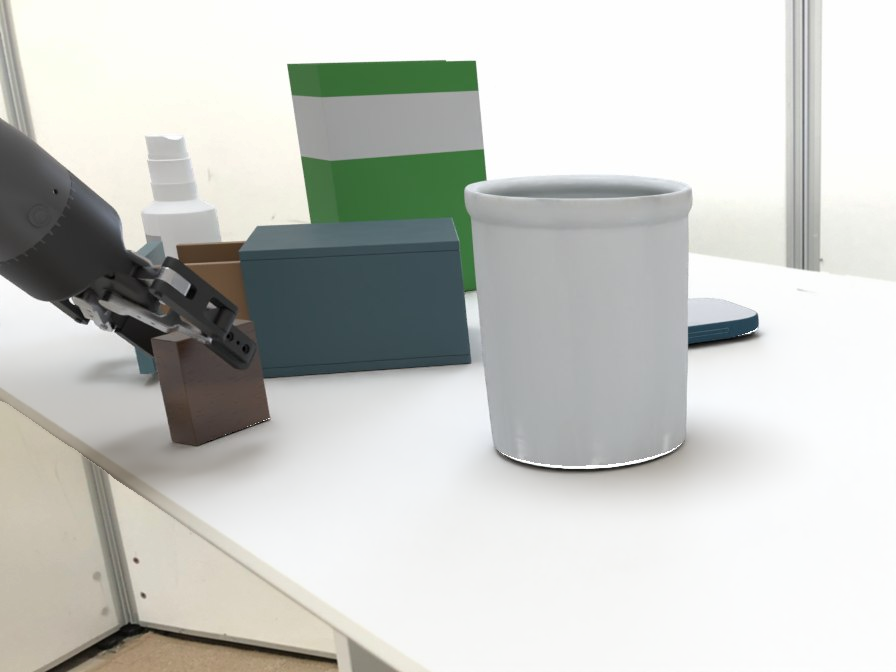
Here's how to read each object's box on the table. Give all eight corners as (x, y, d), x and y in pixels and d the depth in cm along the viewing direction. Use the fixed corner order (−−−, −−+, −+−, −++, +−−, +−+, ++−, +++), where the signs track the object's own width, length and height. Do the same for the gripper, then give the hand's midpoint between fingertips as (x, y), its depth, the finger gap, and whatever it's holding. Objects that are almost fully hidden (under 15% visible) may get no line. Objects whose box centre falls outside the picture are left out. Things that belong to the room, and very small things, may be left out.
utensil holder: (648, 400, 94) (639, 167, 87) (733, 453, 82) (730, 188, 75) (463, 427, 88) (438, 179, 81) (526, 489, 76) (502, 204, 69)
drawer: (77, 378, 98) (52, 270, 95) (112, 341, 110) (90, 244, 107) (347, 360, 103) (332, 256, 100) (352, 326, 115) (339, 233, 111)
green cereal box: (463, 277, 142) (441, 60, 133) (496, 286, 137) (475, 60, 128) (322, 298, 132) (286, 63, 122) (351, 308, 127) (317, 64, 117)
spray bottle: (206, 311, 126) (172, 131, 119) (250, 318, 123) (217, 133, 116) (148, 324, 121) (109, 136, 113) (193, 331, 117) (155, 138, 110)
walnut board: (171, 441, 85) (149, 338, 82) (246, 415, 91) (228, 317, 88) (196, 446, 84) (175, 341, 82) (271, 419, 90) (253, 320, 87)
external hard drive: (713, 314, 123) (712, 295, 122) (771, 336, 113) (771, 315, 113) (492, 343, 112) (490, 322, 111) (537, 370, 103) (535, 347, 102)
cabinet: (260, 378, 101) (238, 251, 97) (275, 339, 114) (256, 225, 110) (471, 363, 105) (459, 240, 101) (463, 327, 118) (451, 217, 114)
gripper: (126, 160, 70) (301, 317, 84) (-32, 153, 75) (157, 301, 89) (66, 268, 67) (256, 410, 81) (-92, 252, 73) (111, 387, 87)
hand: (204, 353), depth 85 cm, fingers open, 8 cm apart
